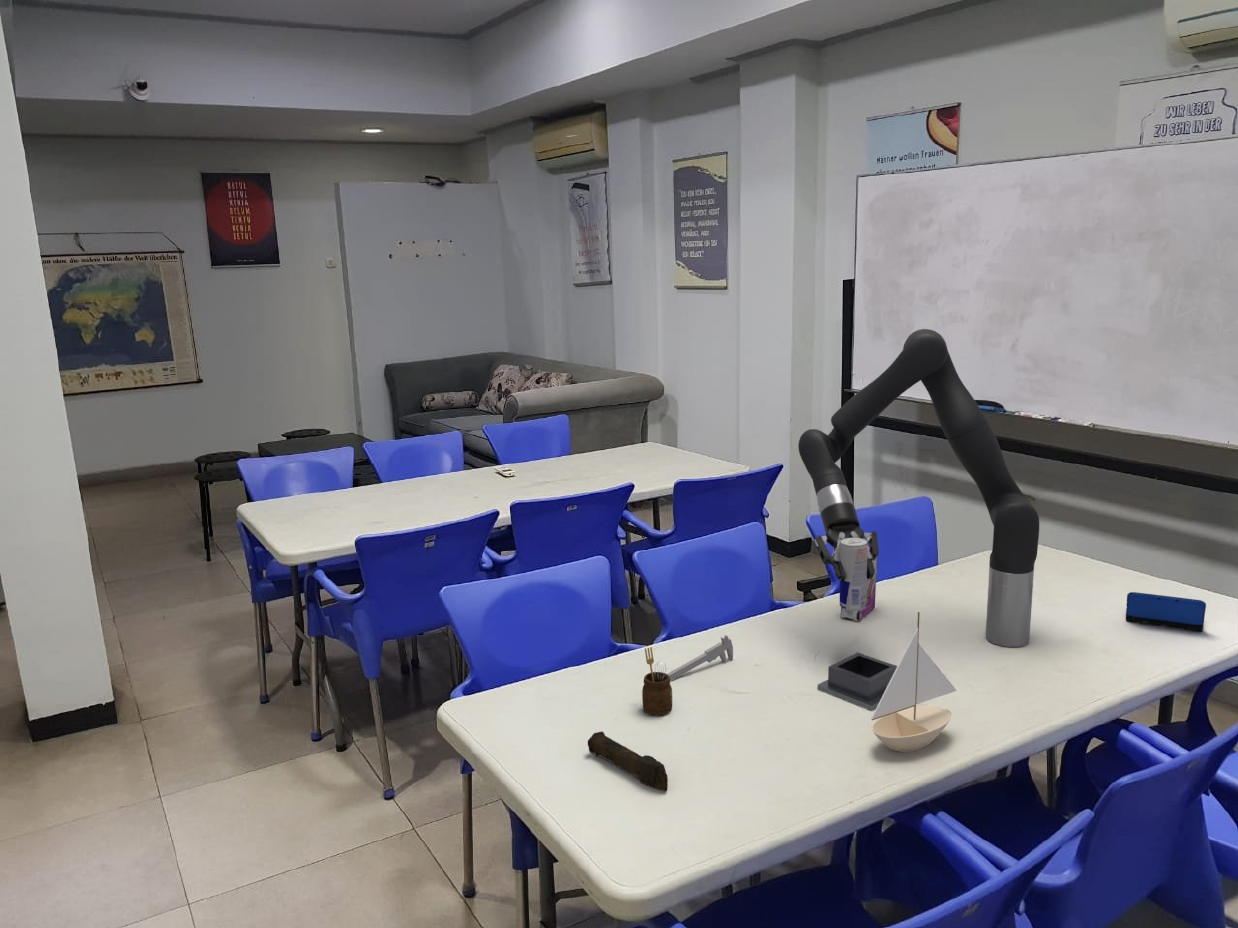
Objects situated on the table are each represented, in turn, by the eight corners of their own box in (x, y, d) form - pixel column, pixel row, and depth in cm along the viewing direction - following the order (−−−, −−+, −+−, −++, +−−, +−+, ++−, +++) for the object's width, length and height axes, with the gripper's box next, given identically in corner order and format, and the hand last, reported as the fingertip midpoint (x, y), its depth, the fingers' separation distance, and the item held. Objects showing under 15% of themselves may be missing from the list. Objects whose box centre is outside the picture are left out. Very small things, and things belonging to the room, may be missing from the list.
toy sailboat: (894, 633, 155) (857, 616, 162) (889, 769, 160) (854, 746, 168) (981, 608, 164) (943, 593, 172) (974, 737, 169) (937, 717, 177)
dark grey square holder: (855, 669, 198) (855, 648, 197) (909, 689, 189) (909, 666, 188) (817, 689, 190) (817, 666, 189) (871, 710, 180) (872, 686, 179)
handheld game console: (1201, 620, 219) (1205, 583, 217) (1203, 640, 208) (1207, 601, 206) (1126, 609, 227) (1129, 573, 225) (1124, 628, 216) (1127, 590, 214)
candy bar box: (859, 622, 224) (861, 557, 220) (840, 618, 227) (841, 554, 223) (876, 608, 232) (878, 545, 229) (857, 604, 235) (859, 542, 232)
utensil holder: (652, 719, 180) (650, 662, 177) (636, 706, 185) (634, 650, 183) (678, 712, 182) (677, 655, 180) (662, 699, 188) (660, 644, 185)
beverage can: (867, 603, 201) (868, 537, 198) (864, 613, 196) (866, 545, 193) (841, 601, 203) (842, 536, 200) (837, 610, 198) (838, 543, 195)
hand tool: (586, 755, 168) (585, 731, 167) (604, 747, 171) (603, 724, 169) (654, 800, 154) (653, 774, 153) (672, 791, 156) (672, 766, 155)
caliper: (729, 659, 206) (729, 633, 205) (733, 661, 205) (732, 634, 204) (656, 684, 195) (655, 656, 194) (659, 686, 194) (658, 658, 193)
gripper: (809, 503, 201) (828, 573, 192) (873, 498, 203) (894, 568, 194) (801, 520, 207) (819, 589, 198) (863, 515, 209) (883, 583, 200)
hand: (856, 578), depth 196 cm, fingers closed on beverage can, 5 cm apart
